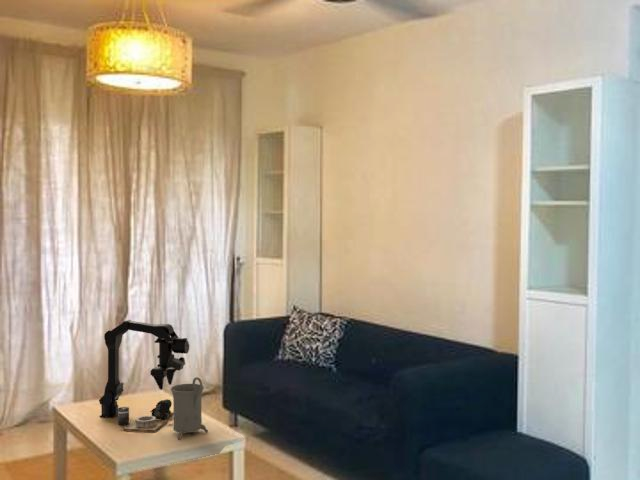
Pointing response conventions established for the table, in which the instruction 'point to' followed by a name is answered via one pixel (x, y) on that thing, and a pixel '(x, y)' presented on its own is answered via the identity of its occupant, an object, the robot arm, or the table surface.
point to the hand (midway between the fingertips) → (165, 387)
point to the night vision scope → (162, 409)
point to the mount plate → (143, 429)
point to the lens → (123, 416)
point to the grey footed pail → (187, 407)
